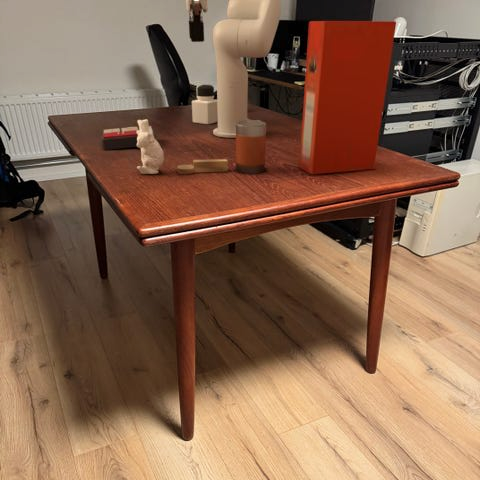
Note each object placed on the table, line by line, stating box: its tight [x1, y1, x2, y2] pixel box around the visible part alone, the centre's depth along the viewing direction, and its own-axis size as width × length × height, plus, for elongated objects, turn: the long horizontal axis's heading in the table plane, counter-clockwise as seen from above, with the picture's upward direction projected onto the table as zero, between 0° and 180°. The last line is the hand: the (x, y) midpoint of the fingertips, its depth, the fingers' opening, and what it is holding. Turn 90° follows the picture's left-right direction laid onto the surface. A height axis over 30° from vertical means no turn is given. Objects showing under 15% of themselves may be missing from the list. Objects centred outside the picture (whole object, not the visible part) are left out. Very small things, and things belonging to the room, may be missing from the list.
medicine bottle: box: [191, 84, 218, 125], centre depth 168 cm, size 7×7×12 cm
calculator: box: [101, 125, 157, 151], centre depth 141 cm, size 11×4×15 cm
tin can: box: [235, 119, 267, 175], centre depth 117 cm, size 7×7×11 cm
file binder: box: [298, 20, 397, 176], centre depth 113 cm, size 8×17×32 cm, turn 108°
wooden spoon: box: [176, 158, 229, 175], centre depth 118 cm, size 12×4×3 cm, turn 96°
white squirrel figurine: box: [136, 119, 165, 175], centre depth 115 cm, size 8×7×12 cm
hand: (196, 40), depth 120 cm, fingers open, 9 cm apart
